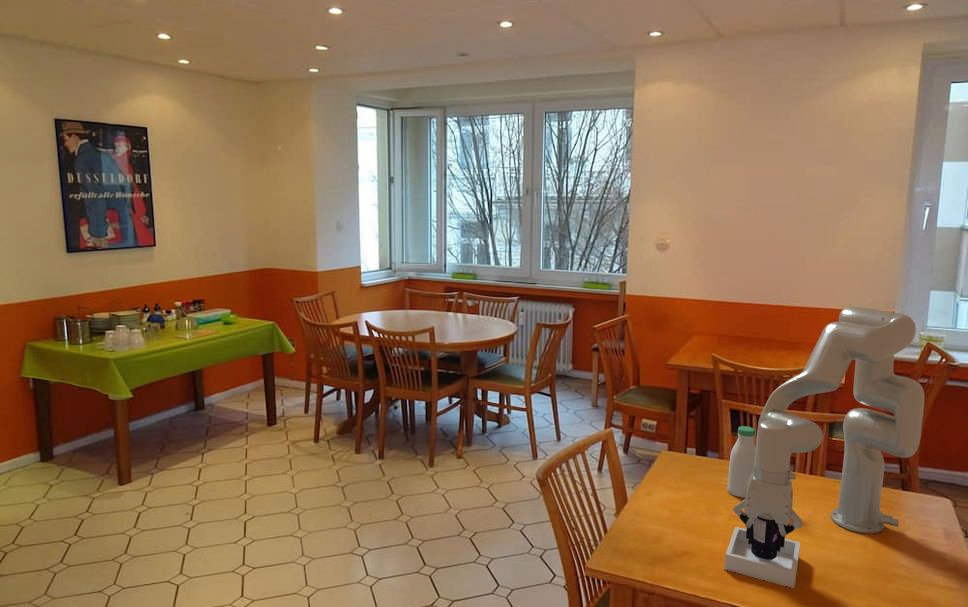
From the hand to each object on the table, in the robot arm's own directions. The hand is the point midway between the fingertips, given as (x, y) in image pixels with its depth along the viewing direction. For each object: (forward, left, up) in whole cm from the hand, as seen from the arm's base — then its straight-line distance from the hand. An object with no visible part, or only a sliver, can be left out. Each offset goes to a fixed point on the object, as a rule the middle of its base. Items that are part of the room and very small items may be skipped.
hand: (764, 544), depth 158 cm
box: (0, 0, -5) cm, 5 cm away
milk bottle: (+10, -38, -5) cm, 39 cm away
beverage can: (0, 0, -3) cm, 3 cm away
